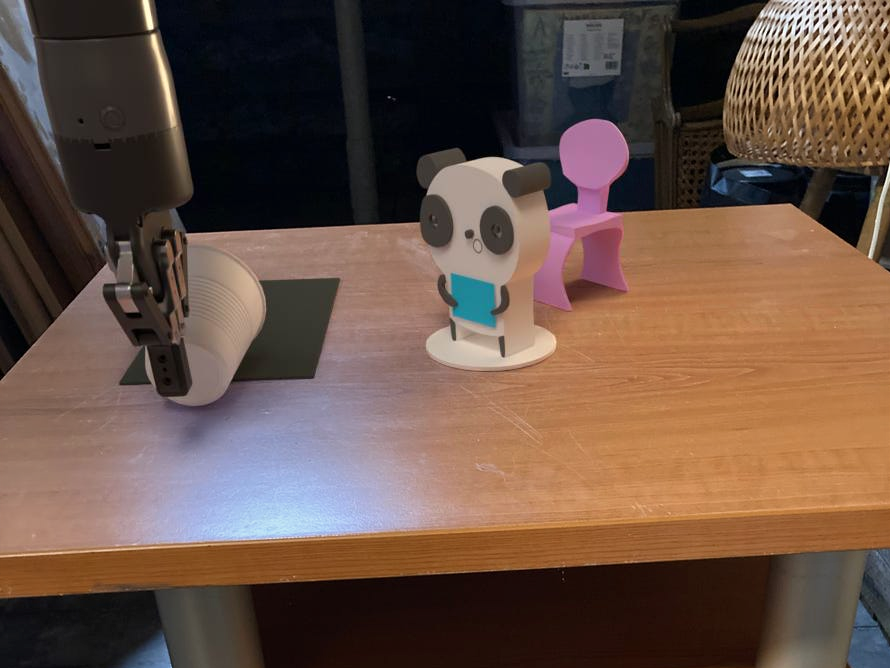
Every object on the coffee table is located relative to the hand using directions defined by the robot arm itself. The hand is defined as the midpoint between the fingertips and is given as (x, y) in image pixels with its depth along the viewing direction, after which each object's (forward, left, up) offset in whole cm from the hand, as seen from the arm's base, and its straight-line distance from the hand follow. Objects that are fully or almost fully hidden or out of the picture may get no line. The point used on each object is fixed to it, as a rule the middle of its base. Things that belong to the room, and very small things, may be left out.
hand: (175, 392), depth 70 cm
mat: (+16, +19, -4) cm, 25 cm away
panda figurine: (+29, -1, -4) cm, 29 cm away
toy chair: (+44, +3, -4) cm, 44 cm away
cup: (+3, +4, -1) cm, 5 cm away
